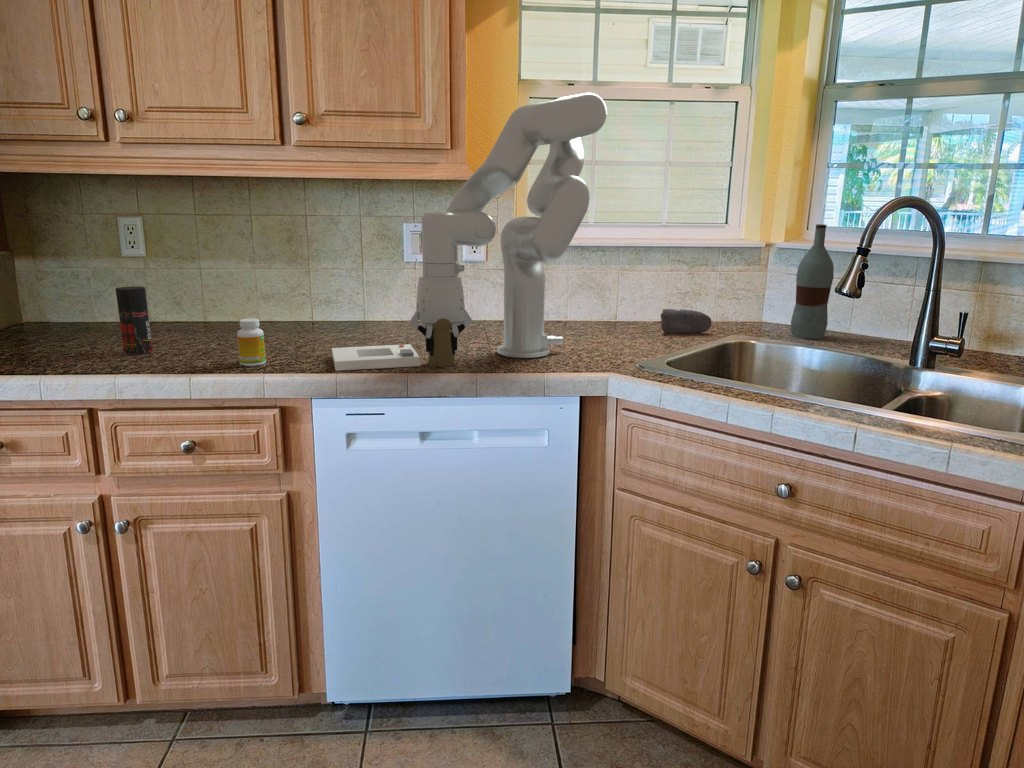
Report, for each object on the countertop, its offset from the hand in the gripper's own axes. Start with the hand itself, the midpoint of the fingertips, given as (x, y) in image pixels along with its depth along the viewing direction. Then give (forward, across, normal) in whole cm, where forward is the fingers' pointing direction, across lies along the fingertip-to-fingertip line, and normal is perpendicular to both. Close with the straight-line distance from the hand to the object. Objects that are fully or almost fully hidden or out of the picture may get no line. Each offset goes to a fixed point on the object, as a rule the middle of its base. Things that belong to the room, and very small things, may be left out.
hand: (441, 353), depth 153 cm
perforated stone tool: (+3, -72, -19) cm, 75 cm away
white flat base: (+2, +14, -6) cm, 15 cm away
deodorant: (+2, +66, -28) cm, 72 cm away
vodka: (+2, -103, -7) cm, 103 cm away
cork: (+2, 0, 0) cm, 2 cm away
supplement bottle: (+3, +40, -10) cm, 41 cm away
